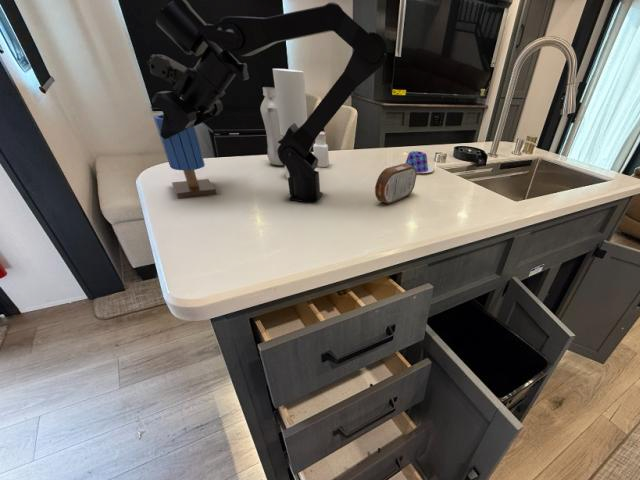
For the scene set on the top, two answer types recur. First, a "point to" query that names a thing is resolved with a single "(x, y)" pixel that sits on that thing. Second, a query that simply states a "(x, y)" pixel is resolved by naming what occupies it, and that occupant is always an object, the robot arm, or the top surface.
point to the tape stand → (193, 186)
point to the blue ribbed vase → (181, 148)
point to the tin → (395, 183)
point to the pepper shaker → (321, 150)
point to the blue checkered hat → (418, 162)
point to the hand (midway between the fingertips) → (171, 133)
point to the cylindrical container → (290, 99)
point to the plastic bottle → (271, 124)
